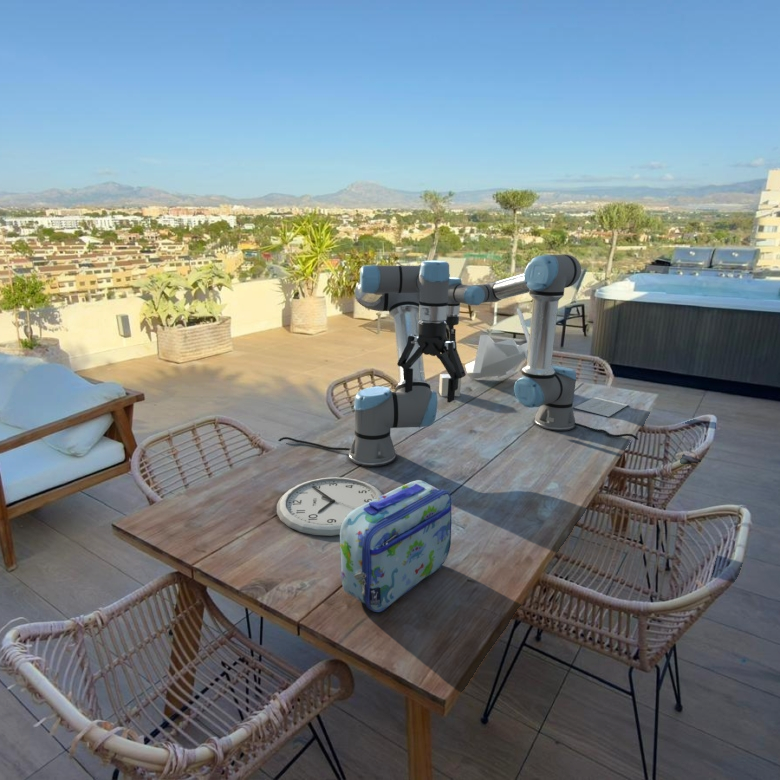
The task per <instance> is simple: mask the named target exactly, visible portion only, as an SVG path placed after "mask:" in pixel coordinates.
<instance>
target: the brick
mask: <svg viewBox="0 0 780 780" xmlns="http://www.w3.org/2000/svg"><path fill="white" fill-rule="evenodd" d="M450 378H451V377H450V375H449V373H439V384H438V385H439V387H438V393H439V395H440V396H441V397H448V379H450ZM461 385H462V378H459V379H458V389H457V390H455V397H461Z"/></svg>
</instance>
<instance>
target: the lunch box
mask: <svg viewBox="0 0 780 780" xmlns="http://www.w3.org/2000/svg"><path fill="white" fill-rule="evenodd" d="M383 494H384V495H382V496H380V497H378V498H376V499H374V500H372V501H370V502H368V503H366V504H364V505H362V506H360V507H358V508H356V509H354V510H353V511H351V512H350V513H349V514H348V515H347V516H346V518H345V519H344V521H343V523H342V526H341V530H340V535H339V551H340V574H341V576H340V577H341V585H342V588H343V589H342V590H343V591H344V593H346V594H348V595H350V596H352V597H353V598H355V599H357V600H358V601H359V602H361V603H362V604H364V605H365V606H366V608H367V609H369V610H370V611H371V612H374V613H381V612H384V611H385V610H386V609H387V608H389V607H390V606H391V605H392V604H393V603H395V602H396V601H397V600H399V599H400V598H401V597H402V596H404V595H405V594H407V593H408V592H410V591H411V590H412V589H413V588H415V587H416V586H417V585H418V584H419V583H420V582H421V581H423V580H425V579H426V578H427V577H429V576H430V575H432V574H434V573H435V572H436V571H438V570H439V569H440V568H441V567H442V566H443V565H444V563H445V562H446V560H447V558H448V556H449V553H450V550H451V549H450V548H451V545H452V543H451V542H452V497H451V494H450V492H449V491H448V490H446V489H438V488H437V487H435V486H434V485H431V484H429V483H427V482H426V481H424V480H421V479H416V480H413V481H410V482H408V483H405V484H403V485H401V486H399V487H397V488H394V489H393V490H390V491H388V492H387V493H383Z"/></svg>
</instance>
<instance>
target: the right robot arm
mask: <svg viewBox="0 0 780 780" xmlns="http://www.w3.org/2000/svg"><path fill="white" fill-rule="evenodd" d="M581 275H582V266H581V263H580V261H579V260H578V259H577V258H576V257H575V256H574V255H571V254H543V255H538V256H534V257H533V258H532V259H531V260H530V261H529V262H528V263H527V265H526V266H525V269H524V273H522V274H517V275H515V276H511V277H508V278H504V279H501V280H498V281H493V282H490V283H484V284H463V283H462V279H461V278H459V277H449V288H448V304H447V319H446V320H445V322H446V323H447V326H446V336H445V340H446V342H452V341H456V340H457V338H456V331H457V330H456V328H455V326H458V325H459V323H460V316H459V315H460V311H461V304H463V305H469V306H480V305H482V304H484V303H496V302H500V301H502V300H503V299H504V300H505V299H508V298H512V297H516V296H520V295H524V294H529V296H530V297H531V299H532V307H531V308H532V309H531V317H530V329H529V330H530V331H529V335H530V338H529V349H528V359H526V365H525V366H523V367H522V369H521V377H519V378H518V379H517V380H516V381H515V383H514V386H513V392H514V396H515V398H516V399H517V401H518V402H519V403H520V404H521V405H522V406H524V407H526V408H531V409H534V408H538V410H537V411H536V413H535V417H534V424H535V425H536V426H537V427H539V428H542V429H544V430H549V431H556V432H567V431H572V430H574V429H575V428H576V426H577V427H581V428H583V429H587V430H589V431H594V432H599V433H604V434H606V435H607V436H608V437H611V438H622V437H632V438H634V439H635V440H639V438H638V436H636V435H635V434H632V433H622V434H621V433H620V434H612V433H609V431H607V430H606V429H598V428H593V427H591V426H588V425H584V424H582V423H577V422H576V418H575V417H576V416H575V413H574V407H573V405H574V398H575V391H576V383H577V372H576V371H575V369H573V368H571V367H570V368H569V367H566V366H561V365H552V364H553V356H554V355H553V354H554V345H555V338H556V327H557V319H558V310H559V309H558V308H559V301H560V300H561V299H562V298H563V297H564V296H565V289H566V288H570V287H572V286H574V285H576V283H577V282H578V281H579V280H580V278H581ZM456 342H457V341H456ZM444 349H445V351H446V352H447V356H448V357H449V359H450V361H451V362H452V360H451V358H450V355H449V351H448V349H447V347H446V346H445V348H444ZM452 364H453V363H452Z"/></svg>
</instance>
